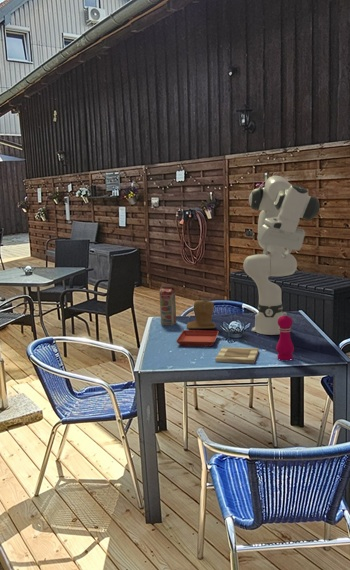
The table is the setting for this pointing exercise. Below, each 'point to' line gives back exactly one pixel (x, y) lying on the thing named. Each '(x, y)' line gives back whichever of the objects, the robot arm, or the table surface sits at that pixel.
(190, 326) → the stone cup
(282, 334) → the pepper mill
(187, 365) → the table surface
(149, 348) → the table surface
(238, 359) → the birch board
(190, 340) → the plant saucer
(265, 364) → the table surface
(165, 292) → the juice carton
